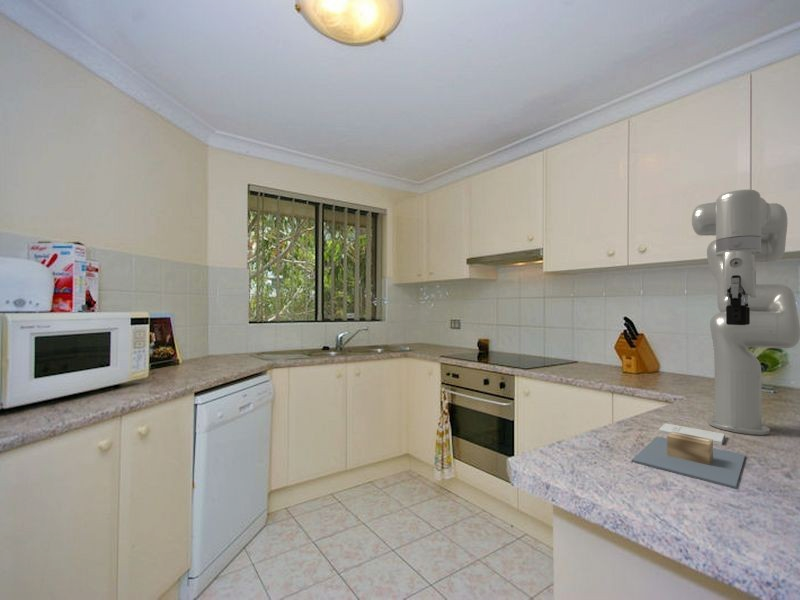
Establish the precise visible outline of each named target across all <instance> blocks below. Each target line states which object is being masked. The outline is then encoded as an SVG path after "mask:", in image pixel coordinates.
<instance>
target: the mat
mask: <svg viewBox="0 0 800 600" xmlns="http://www.w3.org/2000/svg"><path fill="white" fill-rule="evenodd" d="M745 458H746V454H743V453H739V452H735V451H729V450H724V449H719V448H714V447H713V460H712V462H711V464H710V465H706V464H702V463H697V462H693V461H689V460H685V459H681V458H676V457H672V456H668V455H667V437H662V436H656V437H654V439H653V440H651V441H650V442H649V443H648V444H647V445H646V446H645V447H644V448H642V450H641V451H639V452H638V453H637V454H636V455H635V456H634V457H633V458H632V459H631V462H632V463H636V464H640V465H643V466H647V467H650V468H655V469H658V470H663V471H666V472H670V473H674V474H678V475H682V476H686V477H690V478H693V479H698V480H700V481H705V482H708V483H712V484H713V483H714V484H715V485H720V486H725V487H728V488H731V489H737V485H738V483H739V479H740V475H741V472H742V469H743V465H744V463H745V462H744V461H745Z"/></svg>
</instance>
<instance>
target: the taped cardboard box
mask: <svg viewBox="0 0 800 600" xmlns="http://www.w3.org/2000/svg"><path fill="white" fill-rule="evenodd" d="M666 438H667V455H668V456H672V457H676V458H681V459H685V460H689V461H693V462H697V463H702V464H706V465H710V464H711V462H712V460H713V448H714V444H713V439H708V438H703V437H698V436H693V435H688V434H683V433H678V432H673V431H672V432H671V433H670V434H669V435H668V434H667V436H666Z"/></svg>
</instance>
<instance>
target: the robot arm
mask: <svg viewBox="0 0 800 600" xmlns="http://www.w3.org/2000/svg"><path fill="white" fill-rule="evenodd" d="M691 225H692V228H693V231H694V232H695V234H696V235H698V236H708V237H709V236H711V237H712V236H714V237H715V239H714V240H713V241H711V242H710V243H708V246H707V249H706V257H707V259H706V260H707V263H708V267H709V269H710V271H711V274H712V275H713V278H715V280H716V283H717V293H716V295H717V297H716V298H717V299H716V300H717V307H718V310H719V312H718V313H716V314H714V315H713V316H712V317H711V319H710V323H709V324H710V325H709V327H710V328H709V329H710V334H711V339H712V345H713V356H714V357H713V358H714V359H713V361H714V416H713V417H709V418H707V424H708V425H709V426H712V427H714V428H717V429H719V430H723V431H729V432H732V433H733V432H734V433H738V434H746V435H756V436H764V435H769V434H770V433H771V428H770V427H768V426H767V425H765V424H763V422H762V421H763V420H762V416H763V415H762V413H763V411H762V406H763V405H762V404H763V402H762V400H763V399H762V365H761V362H760V361H759V359H758V358H757V357H756V356H755V355H754V354H753V353H751V352H750V350H749V349H748V348H763V349H764V348H765V349H790V348H794V347H795V346H797V345H798V344H799V341H800V320H799V314H798V307H797V301H796V297H795V294H794V292H793V290H792V289H791V288H790V287H789V286H788V285H784V284H779V283H769V284H768V283H765V284H764V283H762V284H761V283H759V284H757V279H756V278H757V277H756V276H757V273H756V272H757V268H756V267H757V266H756V263H770V262H775V261H779V260H780V259H782V257H783V256H784V254H785V251H786V242H787V241H786V240H787V232H788V214H787V211H786V209H785V207H784V206H783V205H782V204H780V203H774V202H772V203H769V202H767V201H766V200H765V199H764V198H762V197H761V195H760V192H758V191H757V190H755V189H739V190H738V189H737V190H733V191H732V190H731V191H728V192H725V193H723V194H720V195H719V196H718V197H717V198H716V200H715V202H714V201H713V202H707V203H702V204H701V203H700V204H699V205H698V204H697V206H696V207H695V208H694V209H693V211H692V215H691Z"/></svg>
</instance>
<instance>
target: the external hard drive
mask: <svg viewBox="0 0 800 600" xmlns="http://www.w3.org/2000/svg"><path fill="white" fill-rule="evenodd" d="M672 431H673V432H678V433H683V434H688V435H693V436H698V437H703V438H708V439H713V445H718V446H723V443H724V441H725V439H726V433H722V432H717V431H710V430H705V429H700V428H699V429H698V428H695V427H690V426H689V427H688V426H684V425H683V426H682V425H677V424H673V423H666V422H665V423H663V425H662V426H661V427H660V428H659V429H658V433H659V434H665V435H667V436H668V435H669V434H670V433H671V432H672Z"/></svg>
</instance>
